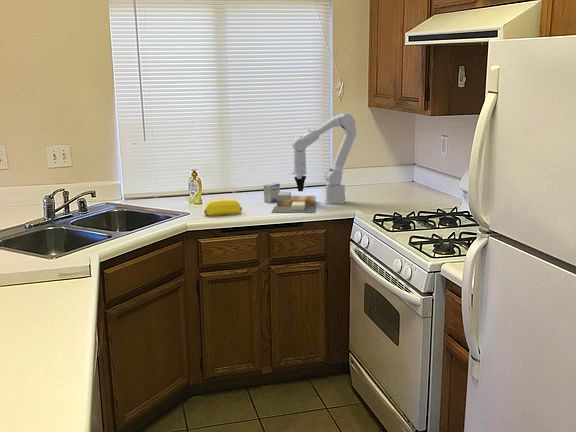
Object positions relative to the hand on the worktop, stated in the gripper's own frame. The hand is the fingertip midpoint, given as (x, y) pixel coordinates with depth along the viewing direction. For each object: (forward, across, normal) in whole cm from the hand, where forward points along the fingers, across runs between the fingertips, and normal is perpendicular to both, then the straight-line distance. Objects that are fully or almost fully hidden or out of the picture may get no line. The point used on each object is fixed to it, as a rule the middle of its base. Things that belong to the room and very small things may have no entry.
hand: (300, 191), depth 316 cm
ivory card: (+6, +11, 0) cm, 12 cm away
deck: (+6, 0, -2) cm, 7 cm away
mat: (+6, +13, -2) cm, 15 cm away
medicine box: (+7, -8, -15) cm, 18 cm away
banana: (+6, +22, -34) cm, 42 cm away
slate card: (+3, -1, -8) cm, 9 cm away
